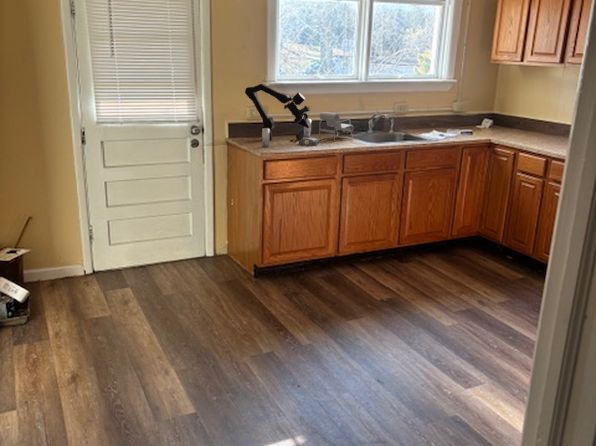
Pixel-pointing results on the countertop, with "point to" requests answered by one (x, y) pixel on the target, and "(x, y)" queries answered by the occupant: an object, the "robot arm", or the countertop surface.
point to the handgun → (300, 134)
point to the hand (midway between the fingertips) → (309, 127)
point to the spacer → (265, 137)
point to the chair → (334, 123)
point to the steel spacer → (307, 130)
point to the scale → (309, 141)
